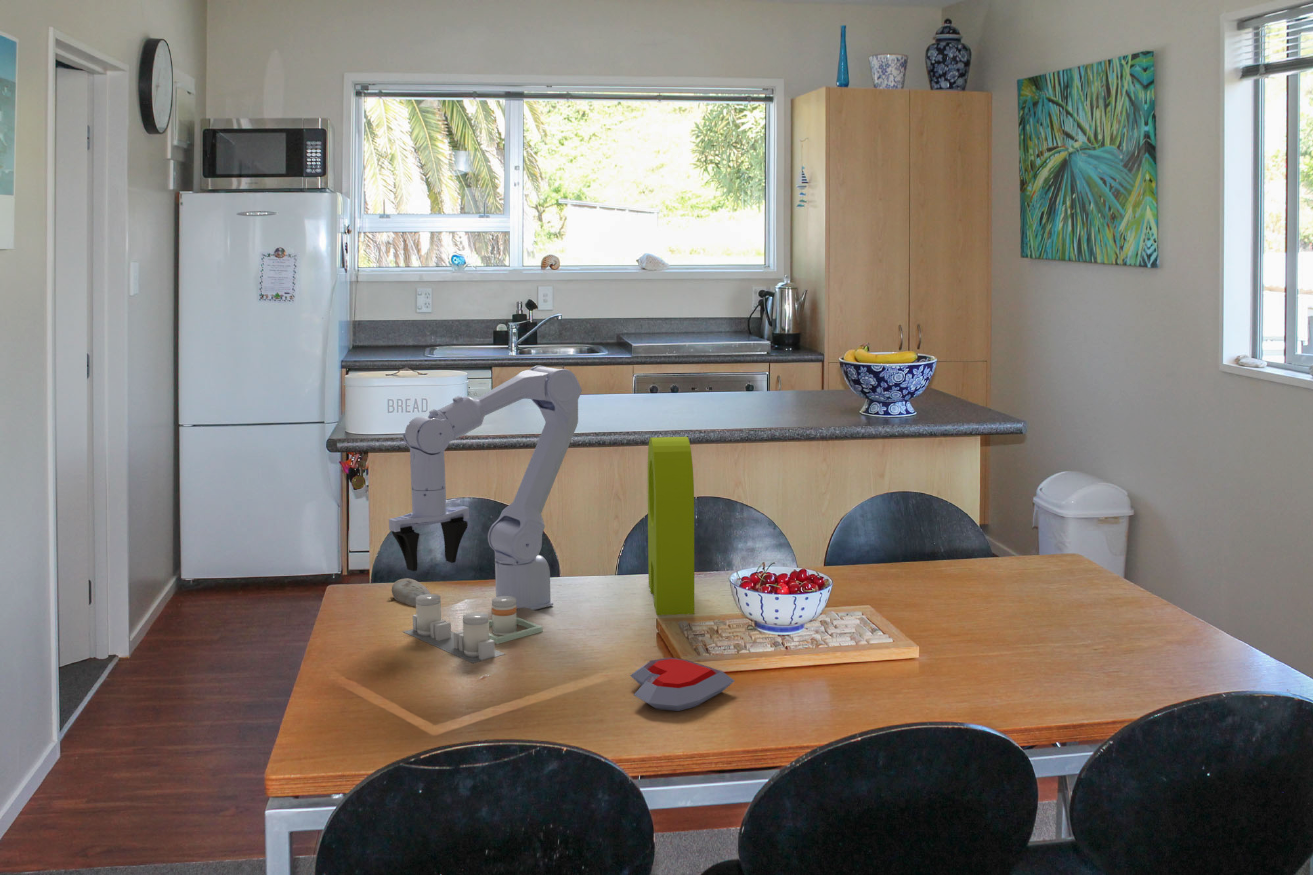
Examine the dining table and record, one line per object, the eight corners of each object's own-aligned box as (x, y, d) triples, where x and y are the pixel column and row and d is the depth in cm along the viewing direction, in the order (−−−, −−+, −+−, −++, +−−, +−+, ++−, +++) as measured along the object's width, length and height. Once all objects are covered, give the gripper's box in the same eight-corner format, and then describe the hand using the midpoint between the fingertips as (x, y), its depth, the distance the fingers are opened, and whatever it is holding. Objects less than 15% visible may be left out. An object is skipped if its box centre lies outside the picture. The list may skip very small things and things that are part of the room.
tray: (511, 624, 202) (510, 614, 201) (542, 636, 195) (542, 626, 195) (466, 636, 196) (466, 625, 195) (497, 649, 189) (497, 638, 189)
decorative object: (648, 583, 226) (647, 430, 221) (683, 582, 226) (682, 429, 222) (656, 615, 206) (655, 447, 202) (694, 614, 207) (693, 446, 202)
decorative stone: (411, 617, 207) (410, 598, 207) (382, 595, 220) (382, 578, 220) (443, 611, 210) (443, 593, 210) (414, 590, 223) (413, 573, 223)
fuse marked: (501, 629, 198) (501, 594, 197) (521, 632, 196) (521, 598, 195) (487, 635, 194) (486, 600, 193) (507, 639, 192) (506, 604, 192)
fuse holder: (434, 629, 199) (433, 609, 199) (505, 660, 184) (504, 638, 183) (403, 637, 195) (402, 617, 195) (473, 669, 180) (472, 647, 179)
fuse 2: (480, 647, 187) (479, 610, 186) (494, 653, 184) (493, 616, 183) (459, 652, 184) (457, 616, 184) (473, 659, 182) (472, 621, 181)
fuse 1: (433, 627, 197) (432, 592, 196) (446, 632, 194) (445, 597, 194) (412, 632, 195) (411, 597, 194) (425, 637, 192) (424, 602, 191)
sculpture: (726, 672, 178) (628, 676, 177) (726, 649, 178) (627, 652, 177) (744, 715, 162) (635, 720, 160) (744, 689, 161) (635, 694, 160)
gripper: (452, 478, 206) (455, 553, 208) (378, 490, 197) (382, 569, 199) (474, 484, 201) (477, 561, 203) (399, 496, 191) (403, 577, 193)
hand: (431, 565), depth 201 cm, fingers open, 7 cm apart
